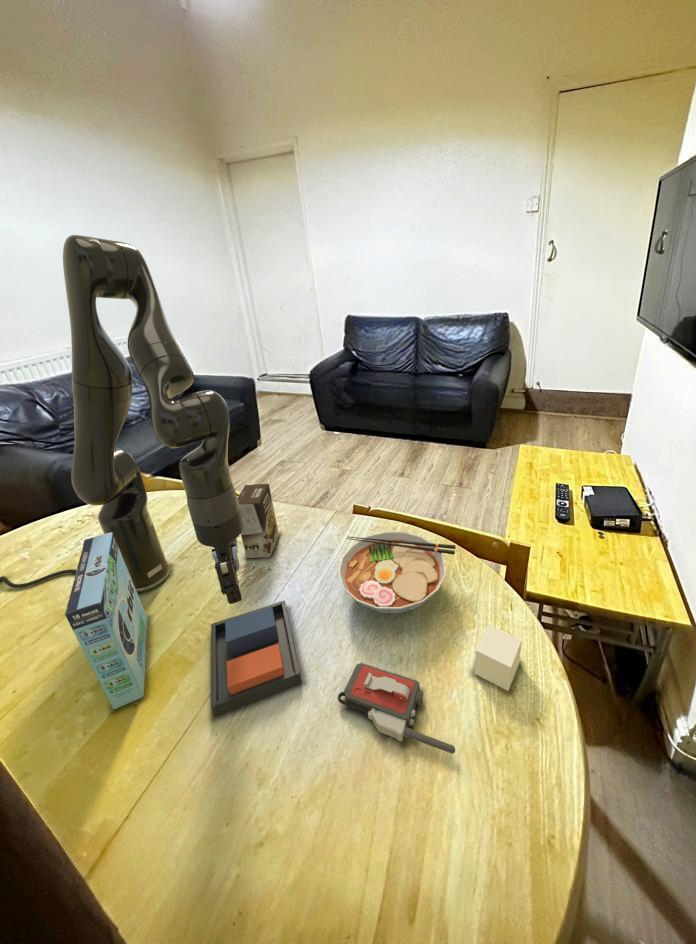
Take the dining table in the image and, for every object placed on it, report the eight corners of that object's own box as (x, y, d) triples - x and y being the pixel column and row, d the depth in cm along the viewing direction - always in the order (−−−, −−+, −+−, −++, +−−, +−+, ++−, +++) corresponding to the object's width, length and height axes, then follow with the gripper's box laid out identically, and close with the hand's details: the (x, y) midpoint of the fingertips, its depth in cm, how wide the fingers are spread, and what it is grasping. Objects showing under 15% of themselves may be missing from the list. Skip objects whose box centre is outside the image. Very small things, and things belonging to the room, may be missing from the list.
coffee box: (271, 557, 102) (259, 503, 96) (245, 558, 103) (231, 504, 96) (280, 534, 111) (269, 482, 104) (256, 534, 111) (244, 483, 104)
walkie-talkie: (331, 716, 67) (453, 764, 60) (328, 699, 65) (453, 746, 58) (354, 668, 74) (465, 705, 67) (352, 651, 73) (465, 688, 66)
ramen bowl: (320, 623, 84) (315, 593, 80) (356, 548, 104) (353, 522, 100) (443, 648, 77) (443, 616, 74) (456, 563, 97) (457, 535, 94)
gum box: (122, 626, 86) (82, 539, 76) (149, 616, 88) (113, 530, 78) (112, 711, 70) (60, 614, 60) (146, 697, 72) (100, 601, 62)
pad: (232, 702, 70) (227, 687, 68) (231, 676, 74) (226, 661, 72) (286, 682, 72) (282, 666, 71) (281, 658, 77) (278, 643, 75)
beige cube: (519, 663, 74) (522, 639, 71) (508, 691, 69) (511, 667, 67) (486, 647, 77) (488, 624, 74) (474, 673, 72) (475, 650, 70)
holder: (214, 717, 68) (211, 707, 67) (214, 633, 83) (211, 623, 82) (302, 683, 73) (300, 673, 71) (286, 609, 88) (284, 600, 86)
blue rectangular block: (230, 656, 77) (225, 642, 76) (229, 635, 82) (225, 621, 80) (278, 639, 80) (275, 625, 78) (275, 620, 84) (271, 605, 83)
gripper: (193, 493, 73) (213, 564, 80) (188, 542, 61) (212, 621, 67) (237, 484, 75) (253, 553, 82) (241, 529, 63) (259, 606, 70)
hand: (234, 584), depth 75 cm, fingers open, 8 cm apart
